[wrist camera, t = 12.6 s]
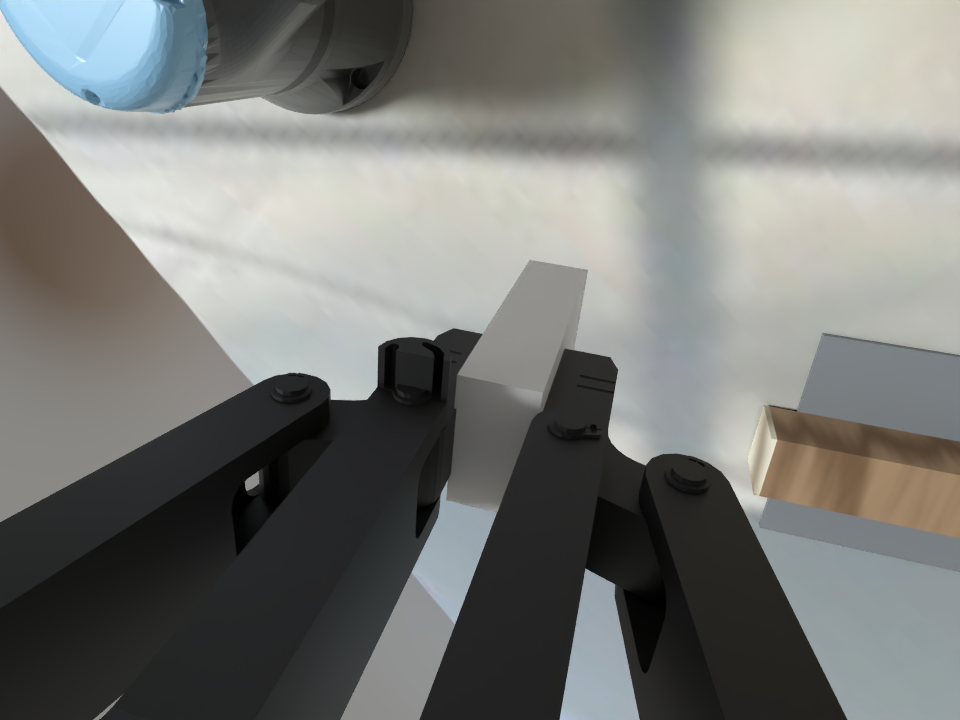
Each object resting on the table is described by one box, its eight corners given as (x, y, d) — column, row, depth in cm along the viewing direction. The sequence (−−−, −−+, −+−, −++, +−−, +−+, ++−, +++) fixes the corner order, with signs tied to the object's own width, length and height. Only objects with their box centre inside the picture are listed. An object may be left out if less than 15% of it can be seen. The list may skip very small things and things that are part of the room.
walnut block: (753, 494, 50) (961, 538, 47) (771, 438, 48) (990, 481, 45) (747, 458, 54) (937, 496, 51) (763, 405, 52) (963, 442, 49)
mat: (759, 524, 57) (759, 527, 57) (822, 333, 49) (823, 335, 49) (1023, 582, 53) (1025, 586, 53) (1140, 384, 45) (1143, 387, 44)
